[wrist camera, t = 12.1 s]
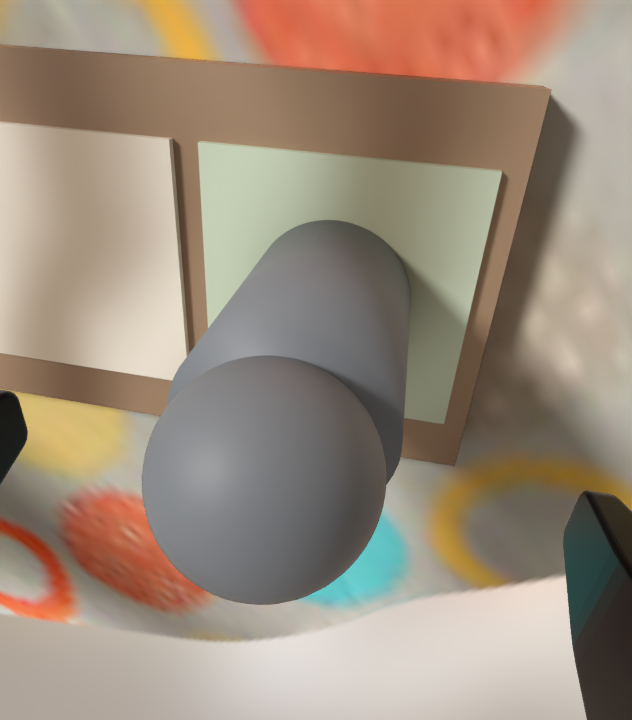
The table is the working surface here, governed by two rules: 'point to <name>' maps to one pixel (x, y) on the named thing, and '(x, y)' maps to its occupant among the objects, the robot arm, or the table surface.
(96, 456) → the table surface
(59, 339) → the game board
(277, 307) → the pawn
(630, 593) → the robot arm
